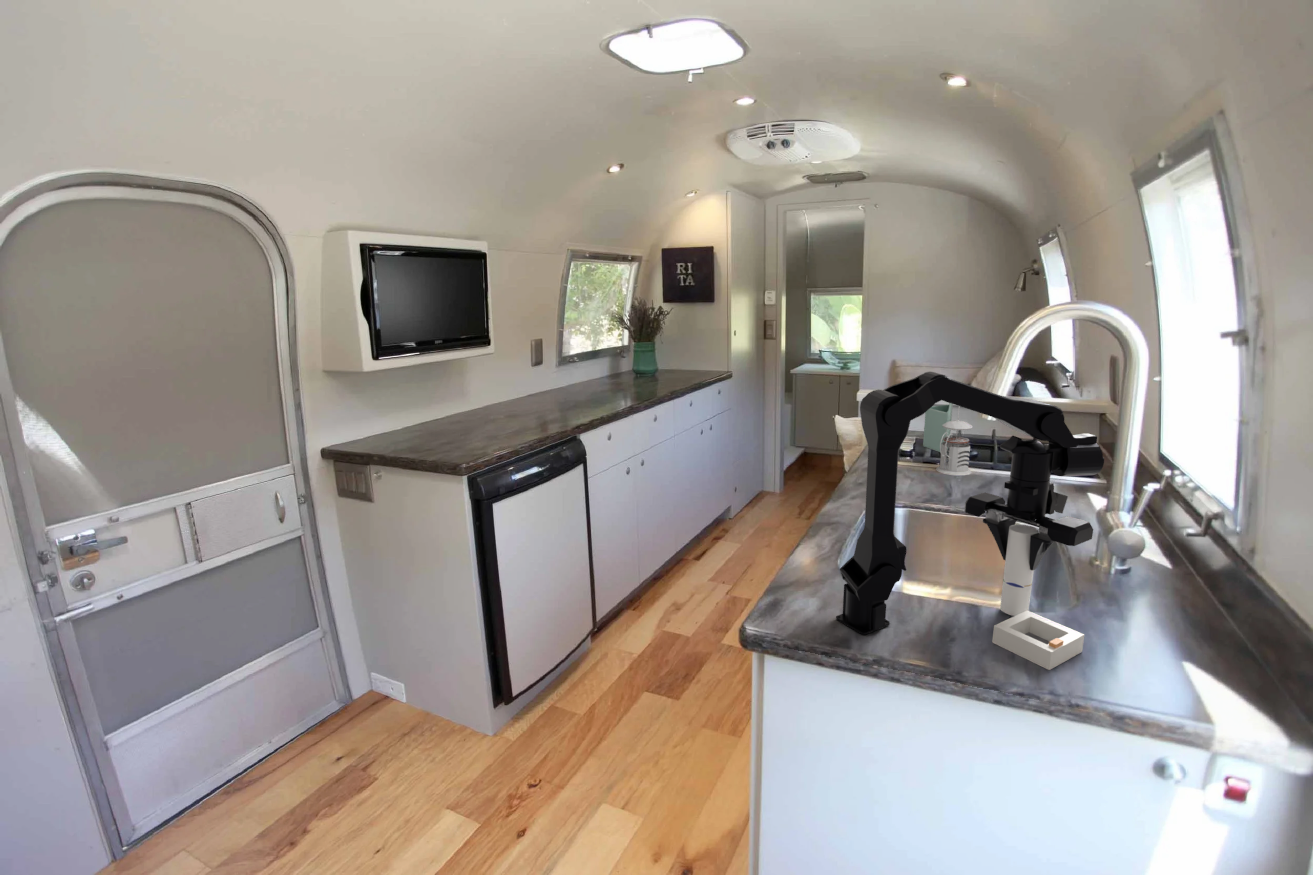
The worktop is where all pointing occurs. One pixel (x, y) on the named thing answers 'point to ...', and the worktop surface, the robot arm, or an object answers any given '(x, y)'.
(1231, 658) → the worktop surface
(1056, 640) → the white hollow square block
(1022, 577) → the tube
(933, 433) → the planter
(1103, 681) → the worktop surface
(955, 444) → the french press
